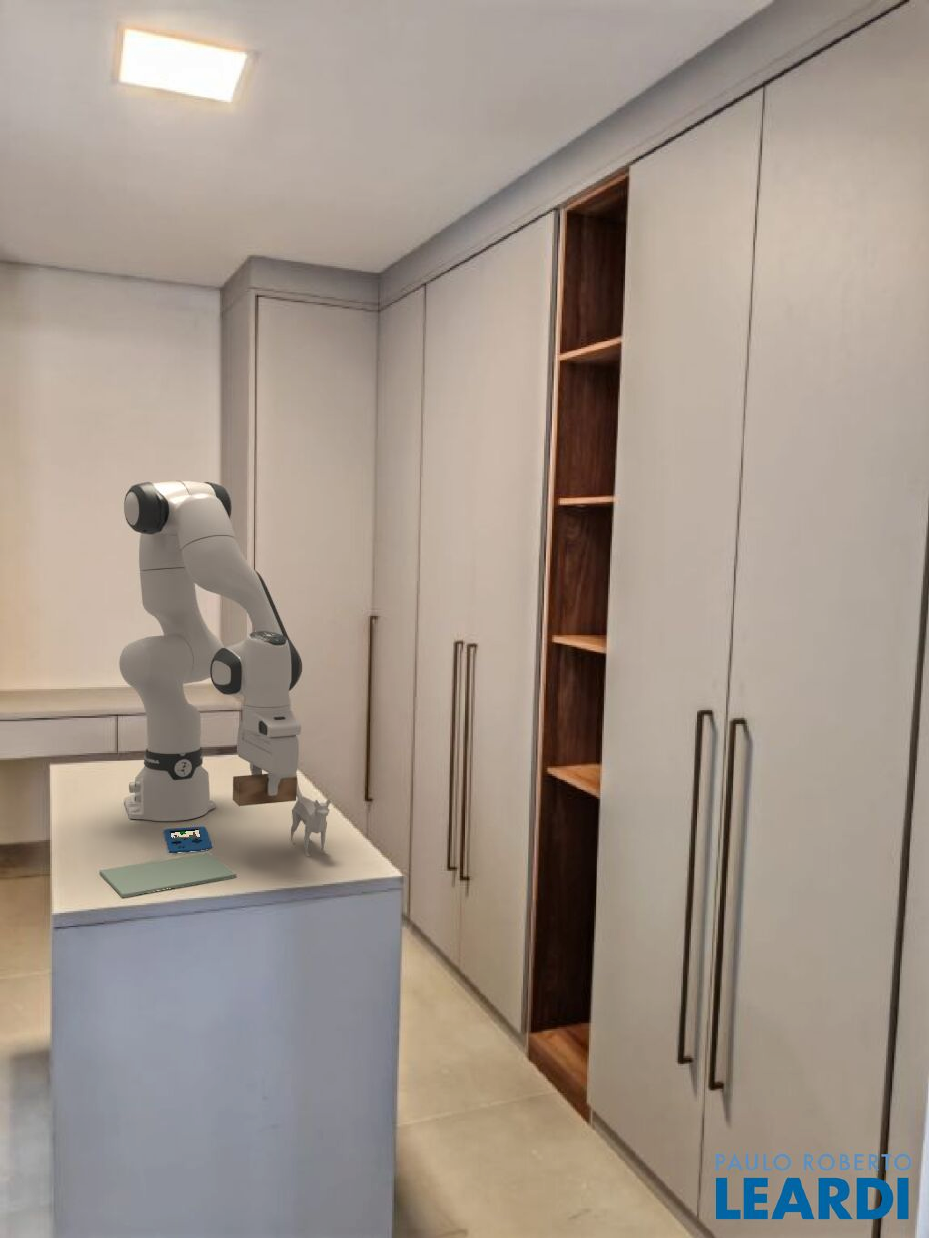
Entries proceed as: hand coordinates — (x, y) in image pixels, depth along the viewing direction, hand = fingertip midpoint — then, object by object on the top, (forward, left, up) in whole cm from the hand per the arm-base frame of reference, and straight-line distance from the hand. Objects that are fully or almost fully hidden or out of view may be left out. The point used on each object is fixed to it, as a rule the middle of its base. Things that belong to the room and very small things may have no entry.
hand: (264, 790), depth 191 cm
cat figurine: (-1, +10, -13) cm, 16 cm away
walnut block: (0, 0, -2) cm, 2 cm away
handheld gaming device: (-17, -9, -13) cm, 23 cm away
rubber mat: (+1, -19, -13) cm, 23 cm away
